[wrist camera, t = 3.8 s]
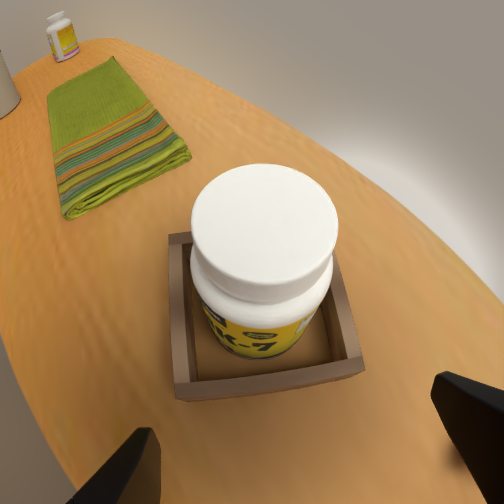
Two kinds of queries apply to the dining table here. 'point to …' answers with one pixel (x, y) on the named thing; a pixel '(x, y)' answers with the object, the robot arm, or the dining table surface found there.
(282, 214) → the supplement bottle
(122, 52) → the dining table surface
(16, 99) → the travel mug
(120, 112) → the dish towel
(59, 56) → the supplement bottle
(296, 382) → the walnut holder
